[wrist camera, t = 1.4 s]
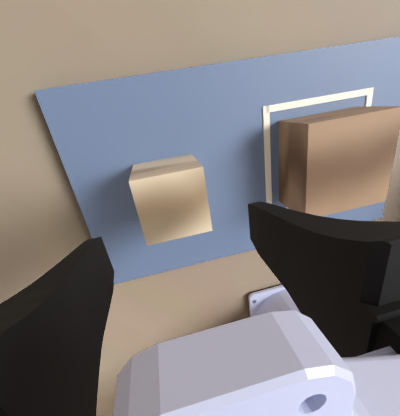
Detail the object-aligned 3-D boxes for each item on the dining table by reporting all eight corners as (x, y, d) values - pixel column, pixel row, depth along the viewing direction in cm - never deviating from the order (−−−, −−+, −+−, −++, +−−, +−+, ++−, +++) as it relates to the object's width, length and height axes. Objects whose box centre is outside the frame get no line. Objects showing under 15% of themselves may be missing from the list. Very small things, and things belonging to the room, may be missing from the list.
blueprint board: (375, 214, 26) (383, 218, 25) (111, 279, 22) (110, 285, 22) (406, 37, 19) (417, 33, 18) (39, 91, 16) (33, 90, 15)
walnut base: (348, 185, 23) (386, 200, 19) (279, 201, 22) (305, 220, 18) (357, 106, 20) (403, 106, 16) (278, 120, 19) (308, 123, 15)
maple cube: (199, 206, 20) (212, 230, 16) (147, 217, 20) (147, 245, 16) (191, 153, 19) (203, 166, 14) (133, 164, 18) (128, 181, 14)
